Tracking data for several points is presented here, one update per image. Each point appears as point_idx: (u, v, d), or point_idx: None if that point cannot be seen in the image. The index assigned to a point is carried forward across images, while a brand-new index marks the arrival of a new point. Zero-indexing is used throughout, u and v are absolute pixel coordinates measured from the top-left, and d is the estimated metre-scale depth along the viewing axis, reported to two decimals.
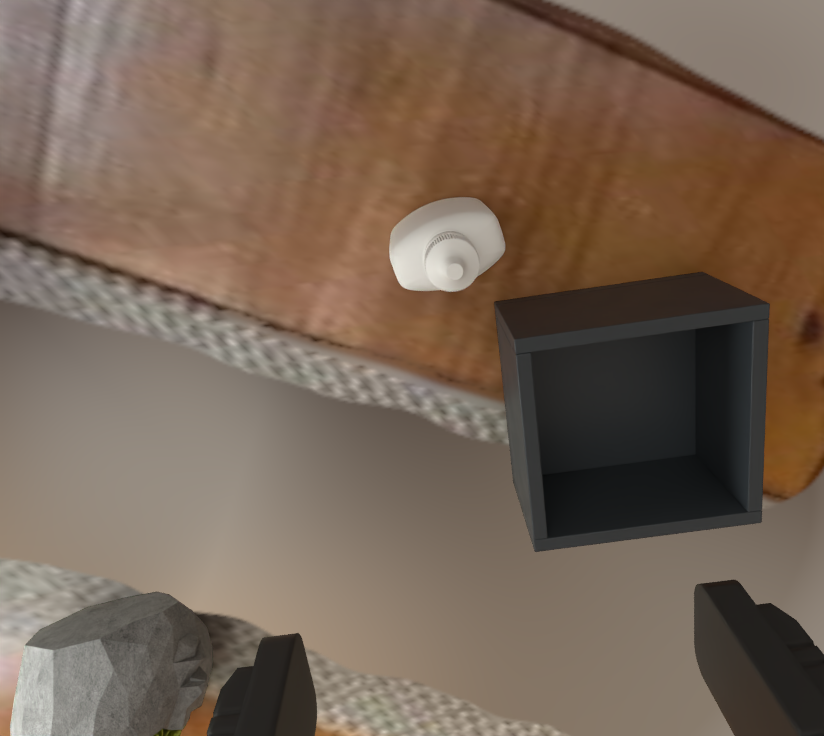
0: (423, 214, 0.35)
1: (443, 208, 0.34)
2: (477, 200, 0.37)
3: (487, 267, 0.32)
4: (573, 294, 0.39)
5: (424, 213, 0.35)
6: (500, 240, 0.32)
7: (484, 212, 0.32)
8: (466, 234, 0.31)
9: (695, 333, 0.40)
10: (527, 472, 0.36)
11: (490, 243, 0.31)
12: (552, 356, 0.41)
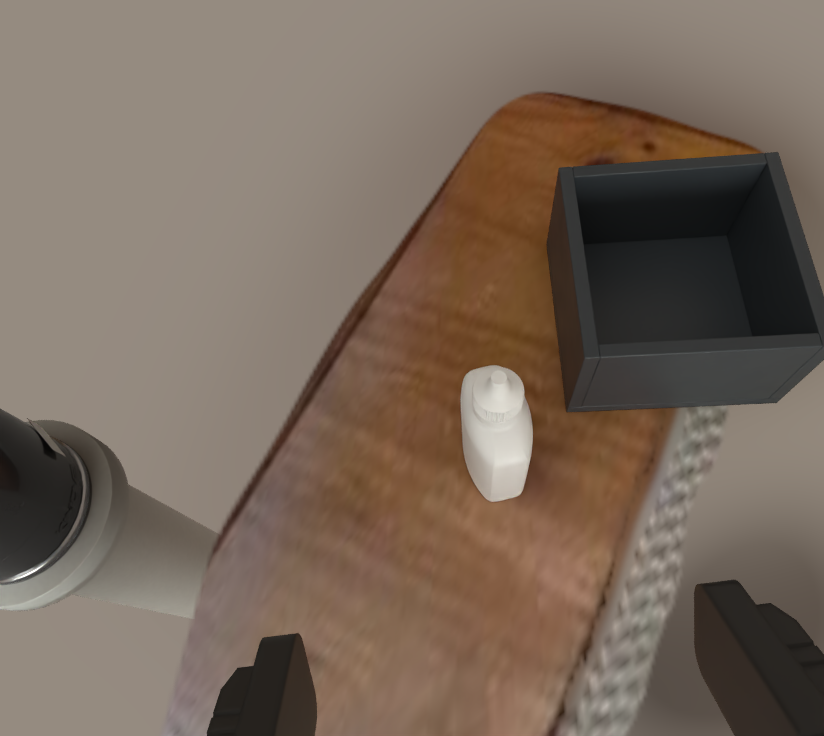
0: (467, 451, 0.37)
1: (462, 430, 0.37)
2: None
3: None
4: (560, 339, 0.42)
5: (467, 451, 0.37)
6: (487, 366, 0.35)
7: (463, 381, 0.35)
8: None
9: (601, 243, 0.45)
10: (735, 350, 0.34)
11: None
12: None
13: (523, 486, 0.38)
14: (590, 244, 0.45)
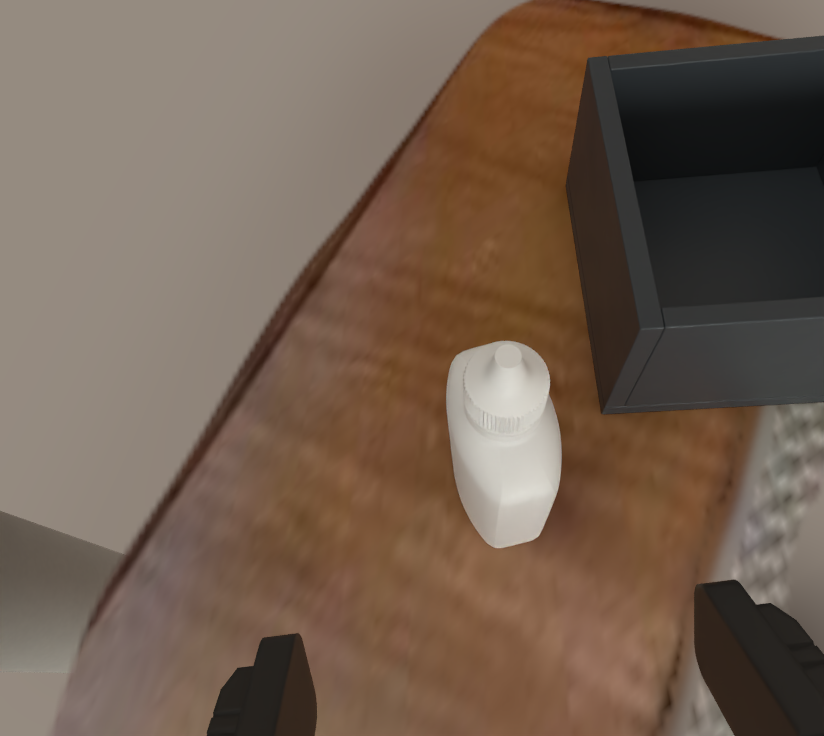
0: (458, 476, 0.24)
1: None
2: None
3: None
4: (589, 311, 0.30)
5: (458, 476, 0.24)
6: (488, 344, 0.22)
7: None
8: None
9: (642, 180, 0.33)
10: None
11: None
12: None
13: (543, 526, 0.25)
14: None
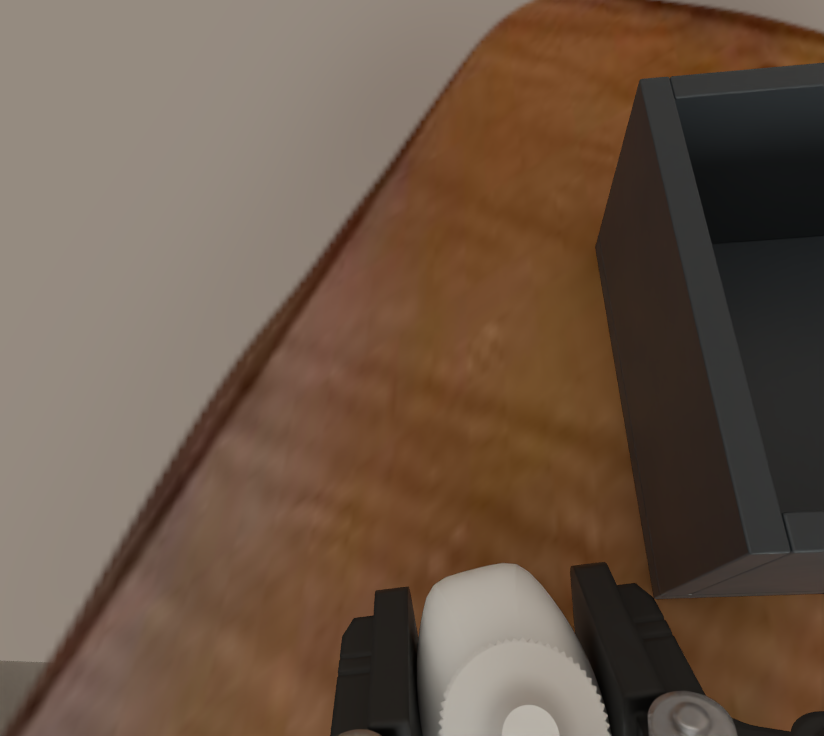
0: None
1: None
2: None
3: (554, 612, 0.13)
4: (635, 440, 0.21)
5: None
6: (488, 573, 0.13)
7: (424, 608, 0.13)
8: (462, 663, 0.12)
9: None
10: None
11: (492, 599, 0.13)
12: None
13: None
14: None
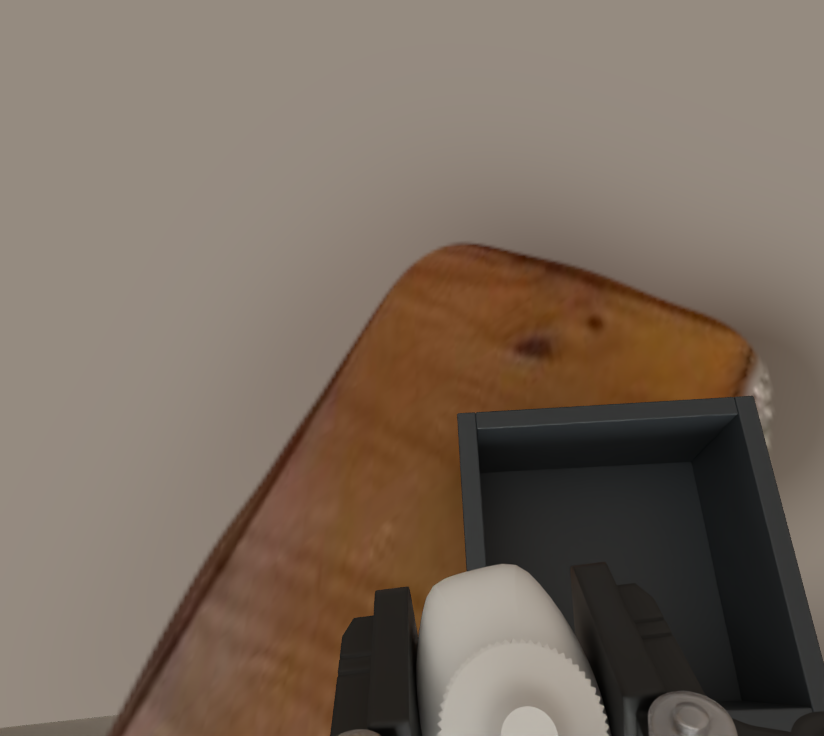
0: None
1: None
2: None
3: (554, 613, 0.13)
4: None
5: None
6: (487, 574, 0.13)
7: (423, 609, 0.13)
8: (461, 664, 0.12)
9: (529, 470, 0.35)
10: None
11: (491, 600, 0.13)
12: None
13: None
14: (515, 471, 0.35)
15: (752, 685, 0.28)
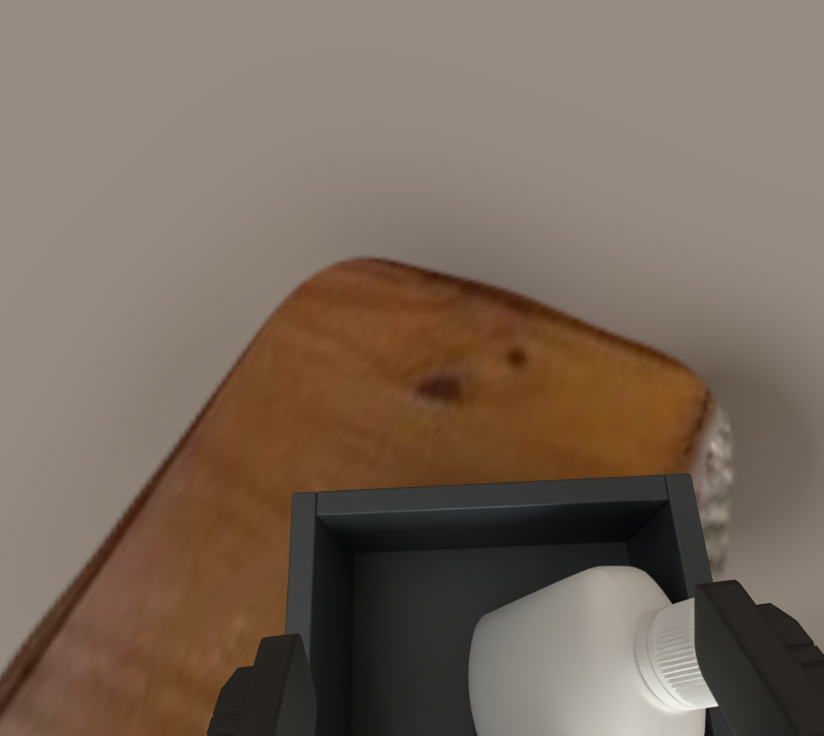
0: (530, 704, 0.20)
1: (532, 663, 0.20)
2: (496, 614, 0.23)
3: None
4: None
5: (525, 703, 0.20)
6: (631, 569, 0.19)
7: (584, 583, 0.19)
8: (633, 618, 0.18)
9: (419, 550, 0.27)
10: None
11: (642, 584, 0.19)
12: None
13: None
14: (402, 552, 0.27)
15: None
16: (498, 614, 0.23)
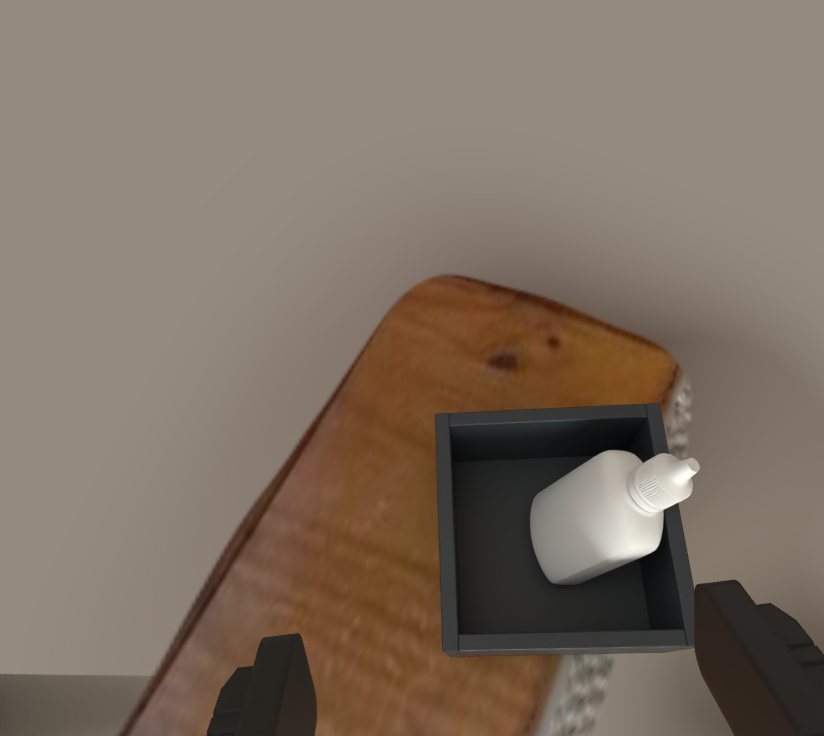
0: (570, 526, 0.37)
1: (571, 504, 0.37)
2: (547, 489, 0.40)
3: None
4: None
5: (567, 526, 0.37)
6: (626, 451, 0.36)
7: (600, 458, 0.36)
8: (626, 471, 0.35)
9: (495, 460, 0.44)
10: (597, 647, 0.32)
11: (631, 458, 0.35)
12: (508, 598, 0.40)
13: None
14: (484, 461, 0.44)
15: (656, 623, 0.37)
16: (548, 488, 0.40)
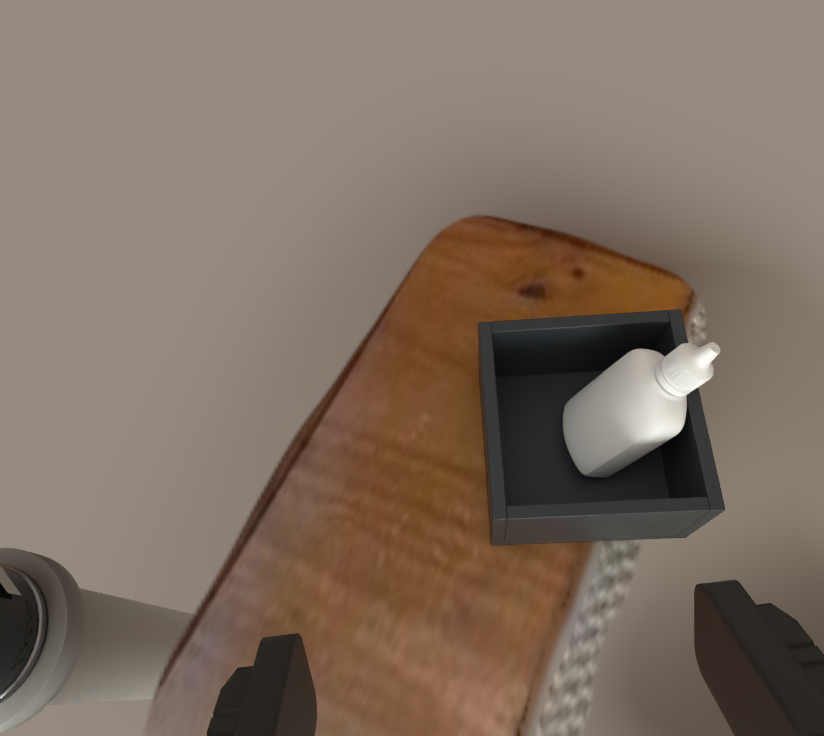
0: (602, 419, 0.41)
1: (603, 399, 0.41)
2: (578, 393, 0.44)
3: None
4: (486, 473, 0.45)
5: (599, 419, 0.41)
6: (652, 350, 0.40)
7: (629, 355, 0.40)
8: (653, 363, 0.39)
9: (528, 375, 0.48)
10: (630, 513, 0.37)
11: (657, 354, 0.40)
12: (544, 493, 0.45)
13: (622, 467, 0.43)
14: (518, 376, 0.48)
15: None
16: (579, 392, 0.44)
